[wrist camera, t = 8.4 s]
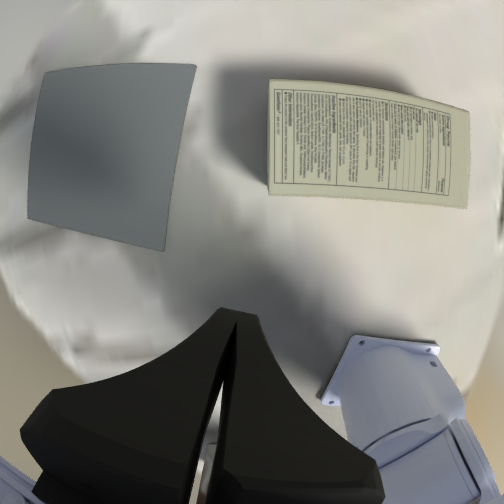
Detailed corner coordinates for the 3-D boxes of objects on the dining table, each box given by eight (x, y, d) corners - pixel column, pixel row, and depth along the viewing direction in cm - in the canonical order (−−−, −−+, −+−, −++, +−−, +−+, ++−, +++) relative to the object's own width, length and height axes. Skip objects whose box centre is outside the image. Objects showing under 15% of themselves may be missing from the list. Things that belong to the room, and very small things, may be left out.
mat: (196, 66, 16) (195, 65, 16) (164, 250, 20) (162, 251, 20) (47, 73, 16) (45, 72, 15) (29, 217, 20) (27, 218, 20)
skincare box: (265, 189, 18) (433, 204, 18) (264, 197, 14) (468, 216, 13) (268, 91, 16) (438, 117, 16) (268, 71, 12) (472, 111, 11)
